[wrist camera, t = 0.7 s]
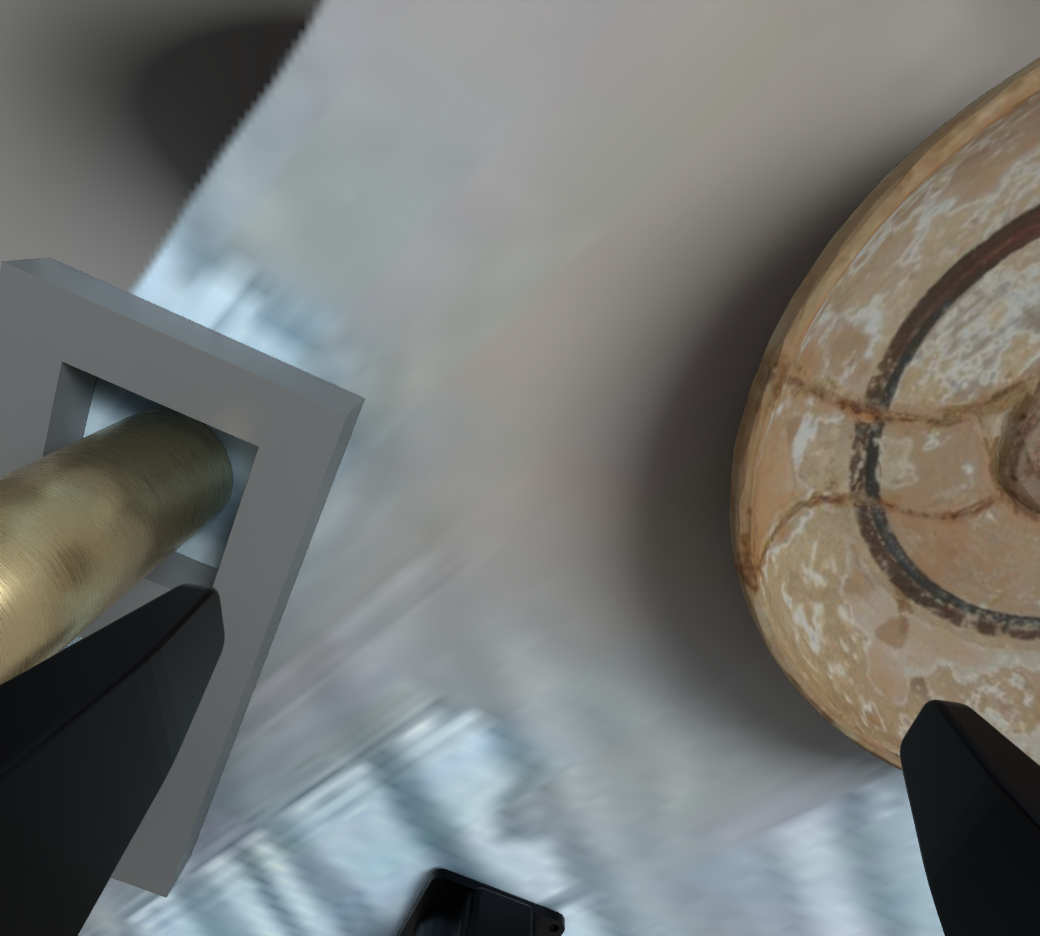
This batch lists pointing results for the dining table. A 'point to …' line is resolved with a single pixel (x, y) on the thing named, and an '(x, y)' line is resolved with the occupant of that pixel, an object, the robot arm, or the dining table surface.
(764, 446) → the ceramic bowl
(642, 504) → the dining table surface
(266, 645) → the frame
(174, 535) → the cylinder
